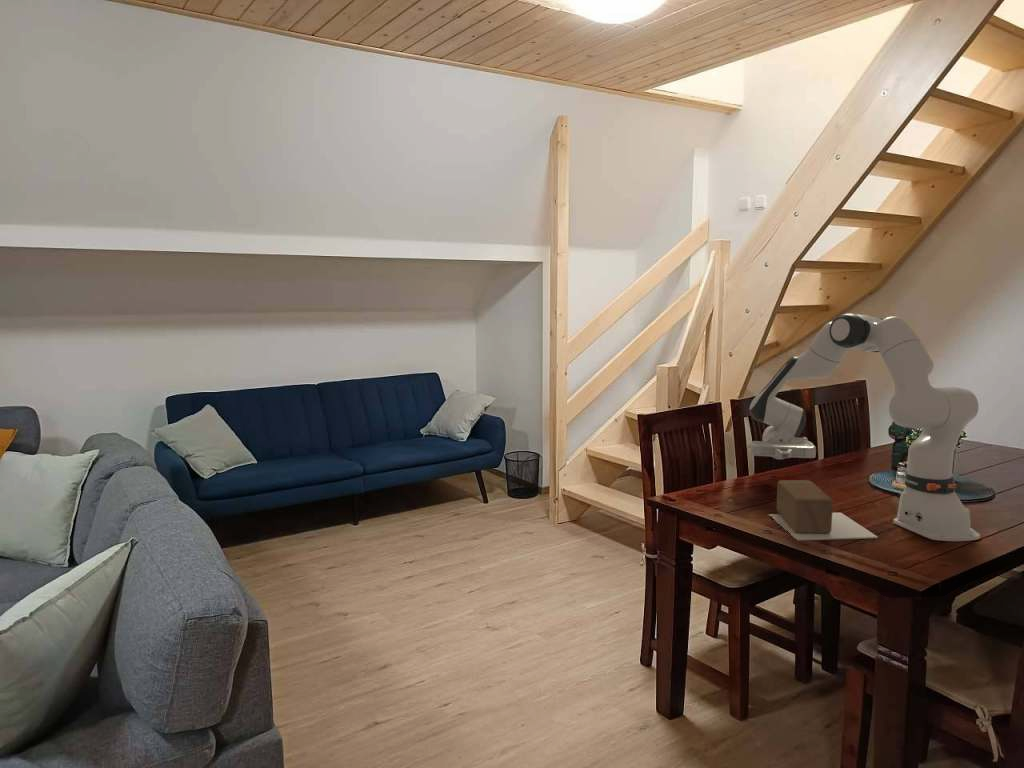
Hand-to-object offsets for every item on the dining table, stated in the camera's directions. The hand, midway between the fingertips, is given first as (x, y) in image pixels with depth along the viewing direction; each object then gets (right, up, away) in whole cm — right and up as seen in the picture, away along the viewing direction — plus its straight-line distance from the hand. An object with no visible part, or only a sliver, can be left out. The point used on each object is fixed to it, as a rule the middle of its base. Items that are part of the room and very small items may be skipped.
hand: (785, 455), depth 232 cm
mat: (+1, -18, -24) cm, 30 cm away
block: (-2, -11, -12) cm, 17 cm away
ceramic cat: (+60, -9, +33) cm, 69 cm away
